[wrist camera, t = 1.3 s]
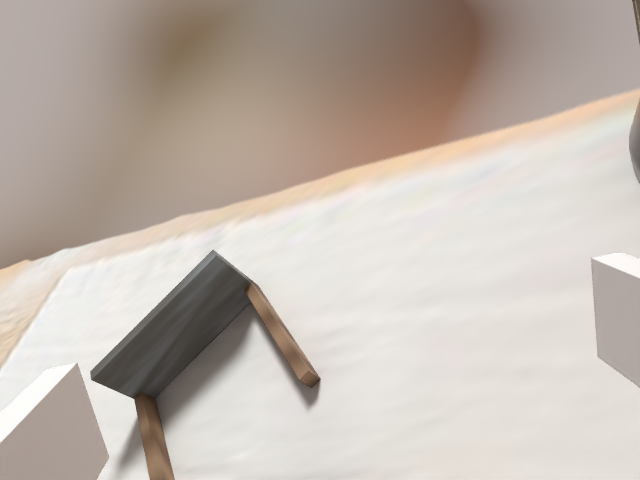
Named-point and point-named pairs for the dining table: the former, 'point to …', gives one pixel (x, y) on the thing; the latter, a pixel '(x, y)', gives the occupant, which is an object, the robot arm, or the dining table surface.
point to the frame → (187, 345)
